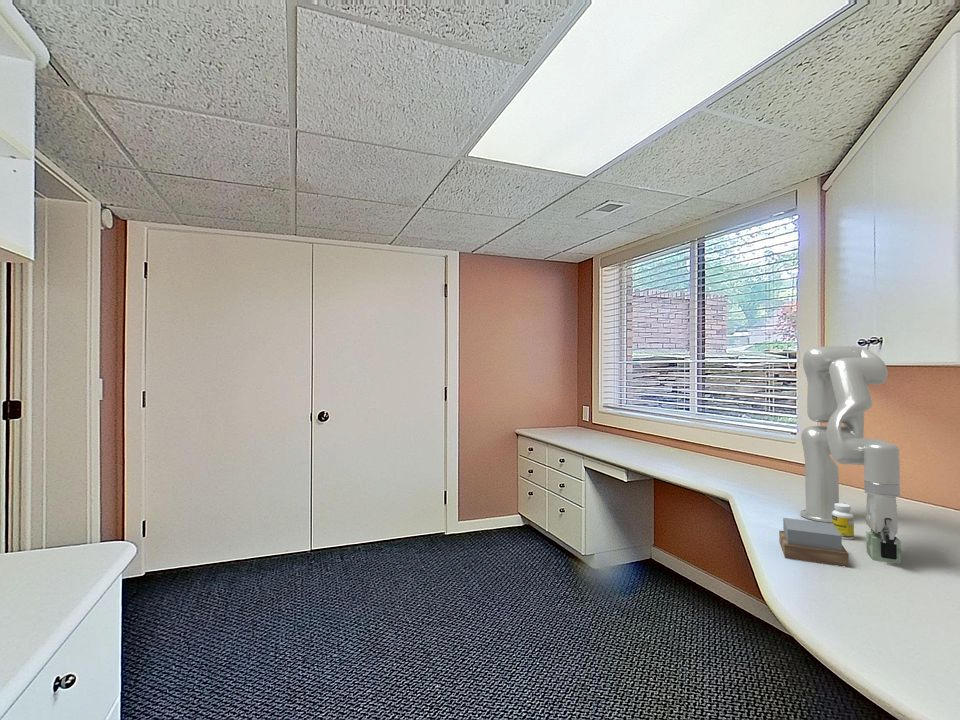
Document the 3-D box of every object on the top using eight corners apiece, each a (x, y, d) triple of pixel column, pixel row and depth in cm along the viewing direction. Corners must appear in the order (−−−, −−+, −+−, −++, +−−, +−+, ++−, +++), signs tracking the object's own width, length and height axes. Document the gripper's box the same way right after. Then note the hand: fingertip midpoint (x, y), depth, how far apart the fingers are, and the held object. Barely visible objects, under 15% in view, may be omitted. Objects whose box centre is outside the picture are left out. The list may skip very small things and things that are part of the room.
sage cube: (866, 553, 137) (866, 531, 137) (893, 556, 134) (893, 534, 134) (872, 560, 131) (872, 537, 131) (901, 564, 129) (900, 541, 129)
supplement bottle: (827, 535, 151) (827, 503, 151) (839, 533, 153) (839, 501, 153) (846, 540, 146) (845, 507, 146) (858, 538, 148) (857, 506, 148)
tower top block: (783, 531, 144) (783, 517, 144) (833, 537, 139) (832, 523, 139) (787, 544, 133) (787, 529, 133) (841, 551, 128) (841, 536, 128)
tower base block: (779, 543, 145) (779, 530, 145) (837, 551, 139) (836, 537, 139) (785, 560, 132) (784, 545, 132) (848, 569, 126) (848, 553, 126)
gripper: (856, 481, 142) (858, 540, 142) (873, 494, 127) (874, 560, 126) (889, 483, 139) (890, 544, 139) (910, 497, 124) (912, 566, 123)
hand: (883, 552), depth 133 cm, fingers open, 9 cm apart
